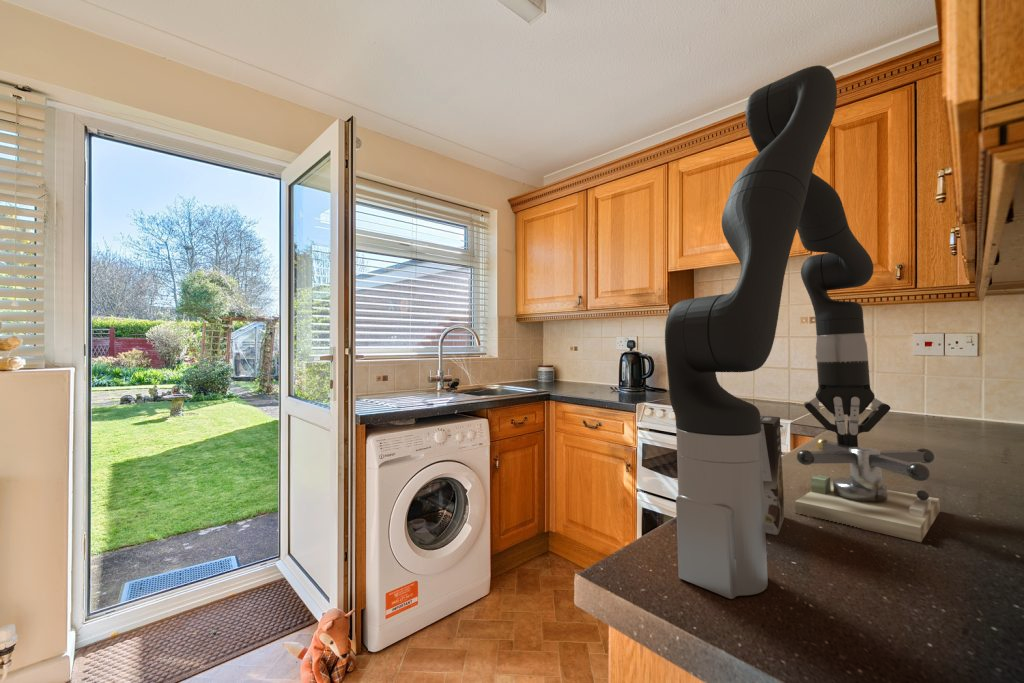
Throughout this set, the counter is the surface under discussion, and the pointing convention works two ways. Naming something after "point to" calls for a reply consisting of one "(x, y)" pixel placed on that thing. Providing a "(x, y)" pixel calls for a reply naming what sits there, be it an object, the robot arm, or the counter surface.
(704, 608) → the counter surface
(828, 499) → the stand
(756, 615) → the counter surface
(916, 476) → the capstan
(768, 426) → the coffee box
